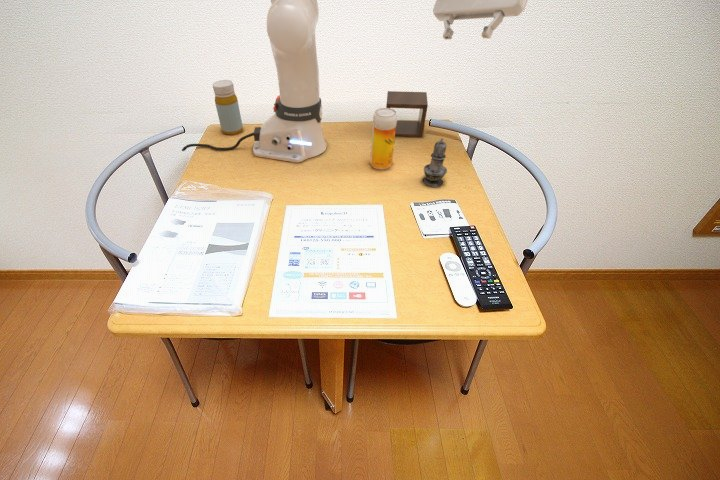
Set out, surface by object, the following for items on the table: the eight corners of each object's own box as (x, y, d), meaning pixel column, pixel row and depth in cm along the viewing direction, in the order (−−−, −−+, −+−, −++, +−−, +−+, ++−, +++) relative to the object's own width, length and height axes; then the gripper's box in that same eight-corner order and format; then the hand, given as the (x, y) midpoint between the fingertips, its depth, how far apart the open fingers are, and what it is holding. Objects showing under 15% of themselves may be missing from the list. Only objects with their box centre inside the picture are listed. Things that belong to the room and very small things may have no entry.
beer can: (392, 170, 101) (399, 116, 90) (370, 170, 101) (374, 117, 90) (390, 159, 105) (396, 106, 94) (369, 159, 105) (372, 107, 94)
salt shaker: (444, 188, 94) (455, 145, 85) (421, 186, 95) (429, 143, 86) (443, 176, 98) (454, 133, 89) (421, 174, 99) (429, 132, 90)
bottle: (217, 132, 121) (206, 85, 110) (231, 124, 125) (221, 78, 114) (233, 137, 118) (223, 89, 107) (247, 128, 122) (238, 81, 111)
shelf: (383, 135, 115) (386, 103, 108) (384, 122, 122) (387, 91, 115) (422, 137, 114) (427, 104, 106) (421, 123, 120) (426, 92, 113)
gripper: (440, -33, 83) (419, 32, 86) (535, -49, 70) (506, 28, 73) (452, -17, 88) (431, 45, 91) (542, -29, 75) (514, 43, 78)
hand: (465, 37), depth 82 cm, fingers open, 8 cm apart
